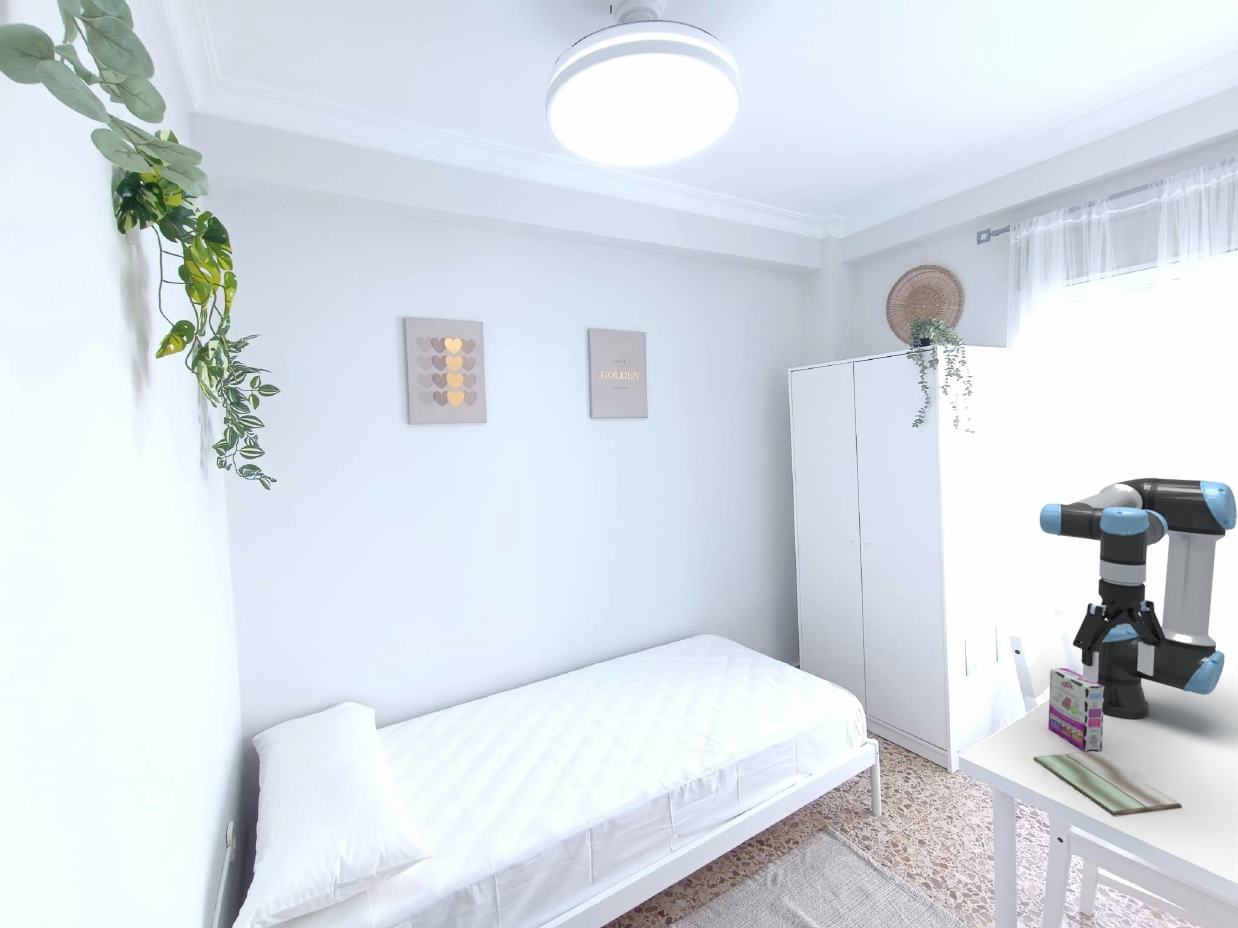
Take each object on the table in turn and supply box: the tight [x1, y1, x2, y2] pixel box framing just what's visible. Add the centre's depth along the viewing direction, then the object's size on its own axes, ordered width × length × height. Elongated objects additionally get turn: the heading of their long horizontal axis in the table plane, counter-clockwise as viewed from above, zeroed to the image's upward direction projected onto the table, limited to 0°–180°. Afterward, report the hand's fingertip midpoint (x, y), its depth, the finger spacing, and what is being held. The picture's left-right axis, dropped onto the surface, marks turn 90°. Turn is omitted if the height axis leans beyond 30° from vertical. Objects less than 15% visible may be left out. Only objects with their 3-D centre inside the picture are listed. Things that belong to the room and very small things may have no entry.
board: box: [1033, 751, 1183, 817], centre depth 131 cm, size 16×20×1 cm
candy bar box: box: [1047, 667, 1105, 752], centre depth 147 cm, size 11×5×16 cm, turn 5°
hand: (1117, 676), depth 126 cm, fingers open, 13 cm apart
